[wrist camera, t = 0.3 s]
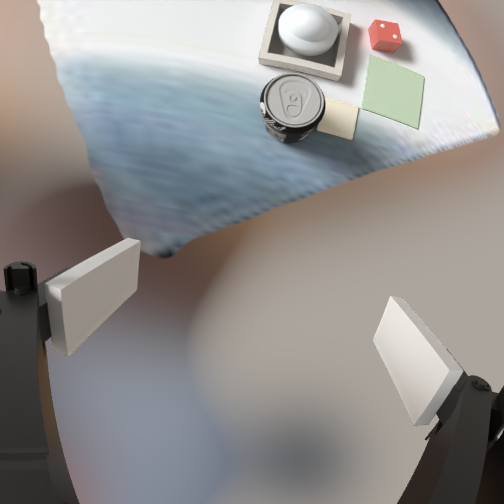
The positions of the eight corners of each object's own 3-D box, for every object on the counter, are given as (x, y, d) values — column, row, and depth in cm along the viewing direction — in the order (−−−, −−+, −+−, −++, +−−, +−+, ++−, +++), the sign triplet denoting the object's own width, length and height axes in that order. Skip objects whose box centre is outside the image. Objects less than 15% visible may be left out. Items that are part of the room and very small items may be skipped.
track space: (323, 97, 36) (323, 96, 35) (358, 107, 35) (358, 106, 35) (316, 130, 37) (316, 130, 37) (351, 140, 37) (352, 140, 37)
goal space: (369, 55, 33) (370, 54, 33) (423, 76, 33) (423, 76, 33) (361, 108, 35) (361, 107, 35) (416, 128, 35) (417, 128, 35)
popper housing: (273, 5, 32) (273, -3, 30) (347, 21, 32) (350, 14, 29) (259, 63, 35) (258, 57, 32) (337, 81, 35) (341, 76, 32)
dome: (283, 8, 30) (284, -10, 25) (337, 20, 30) (344, 3, 25) (273, 50, 32) (273, 34, 27) (329, 63, 32) (337, 49, 27)
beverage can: (314, 101, 36) (331, 74, 24) (309, 147, 38) (324, 136, 26) (266, 94, 36) (263, 64, 25) (260, 140, 38) (255, 126, 26)
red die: (368, 29, 32) (375, 19, 28) (389, 32, 31) (398, 23, 28) (371, 48, 33) (379, 39, 29) (393, 52, 32) (402, 43, 29)
